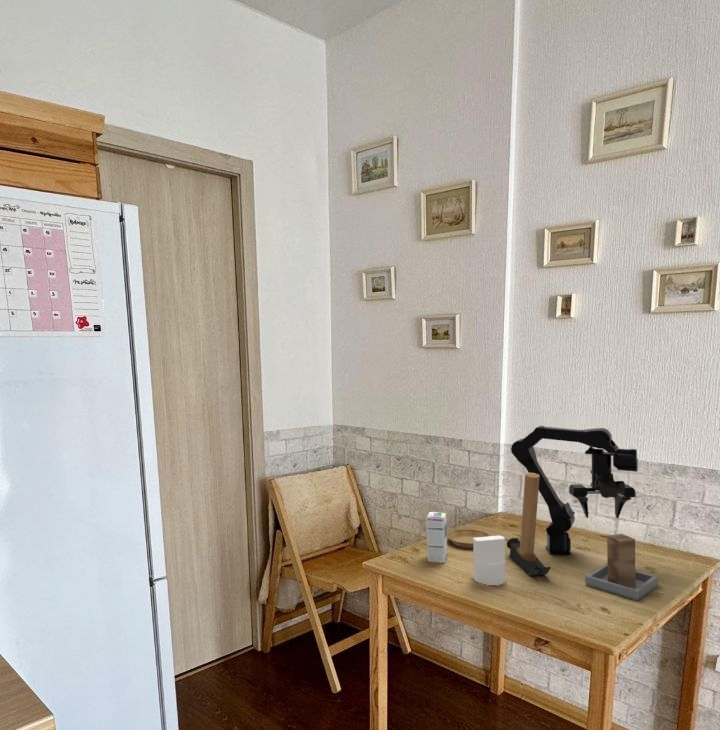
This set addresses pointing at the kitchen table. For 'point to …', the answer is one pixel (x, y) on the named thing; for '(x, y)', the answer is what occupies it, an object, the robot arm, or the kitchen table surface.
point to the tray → (637, 592)
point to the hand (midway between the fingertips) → (601, 517)
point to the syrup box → (436, 537)
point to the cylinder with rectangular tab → (489, 560)
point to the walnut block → (621, 560)
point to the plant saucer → (465, 537)
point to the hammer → (528, 530)
